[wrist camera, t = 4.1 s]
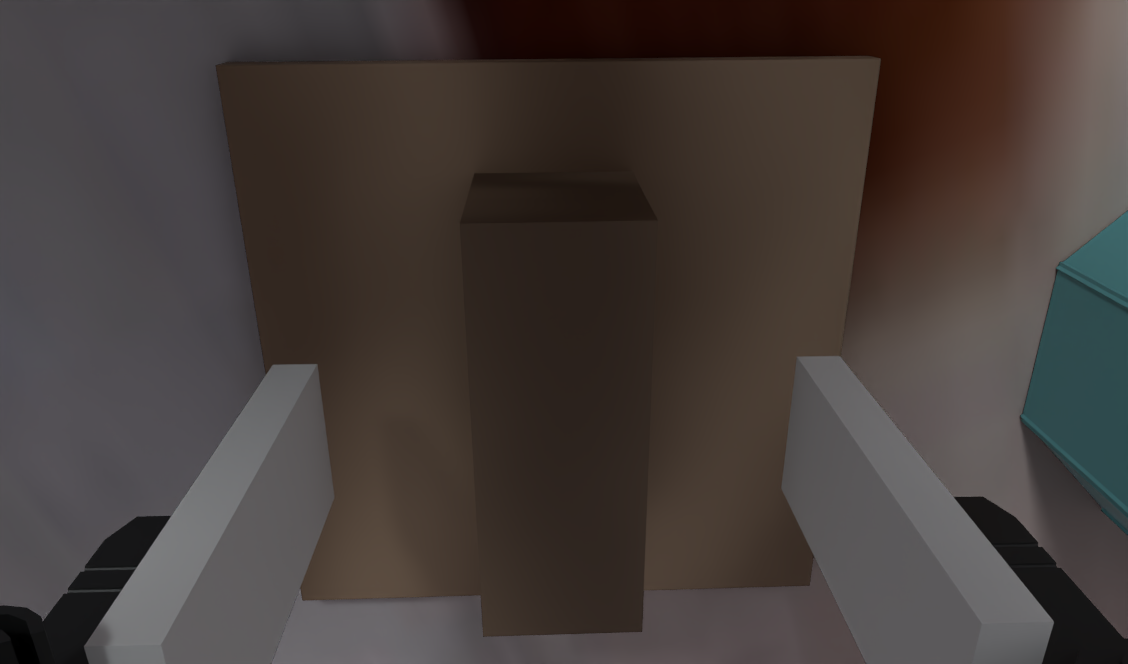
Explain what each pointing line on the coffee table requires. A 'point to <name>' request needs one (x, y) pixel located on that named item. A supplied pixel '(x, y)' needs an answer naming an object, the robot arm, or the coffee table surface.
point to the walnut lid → (552, 313)
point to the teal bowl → (1087, 370)
